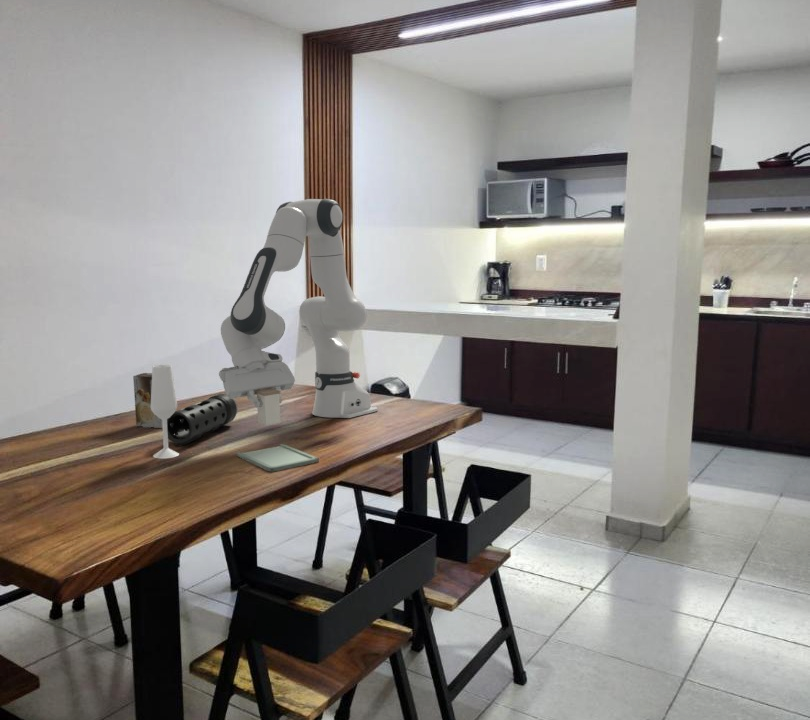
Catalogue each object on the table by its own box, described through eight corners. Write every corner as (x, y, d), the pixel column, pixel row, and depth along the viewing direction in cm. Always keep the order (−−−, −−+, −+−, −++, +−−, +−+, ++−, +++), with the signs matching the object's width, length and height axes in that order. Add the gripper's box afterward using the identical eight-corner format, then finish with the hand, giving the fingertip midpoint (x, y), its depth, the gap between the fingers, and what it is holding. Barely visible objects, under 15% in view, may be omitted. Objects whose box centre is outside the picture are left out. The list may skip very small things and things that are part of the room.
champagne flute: (178, 450, 197) (174, 363, 194) (180, 457, 191) (176, 367, 187) (152, 452, 195) (148, 364, 191) (153, 459, 189) (148, 368, 185)
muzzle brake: (162, 446, 202) (161, 410, 201) (213, 423, 229) (212, 391, 227) (193, 448, 200) (192, 412, 198) (240, 425, 227) (239, 393, 225)
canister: (272, 419, 204) (271, 388, 202) (281, 422, 200) (279, 390, 199) (257, 422, 201) (256, 390, 199) (265, 425, 197) (264, 393, 196)
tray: (283, 447, 201) (283, 444, 201) (318, 461, 187) (318, 458, 187) (236, 456, 192) (236, 452, 192) (270, 472, 178) (270, 468, 178)
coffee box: (172, 424, 228) (170, 373, 226) (161, 428, 222) (159, 377, 219) (146, 422, 230) (144, 372, 228) (134, 426, 224) (132, 375, 222)
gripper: (219, 362, 196) (238, 403, 191) (285, 353, 209) (305, 392, 203) (213, 376, 201) (231, 417, 195) (278, 367, 213) (297, 405, 208)
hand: (269, 404), depth 199 cm, fingers closed on canister, 4 cm apart
